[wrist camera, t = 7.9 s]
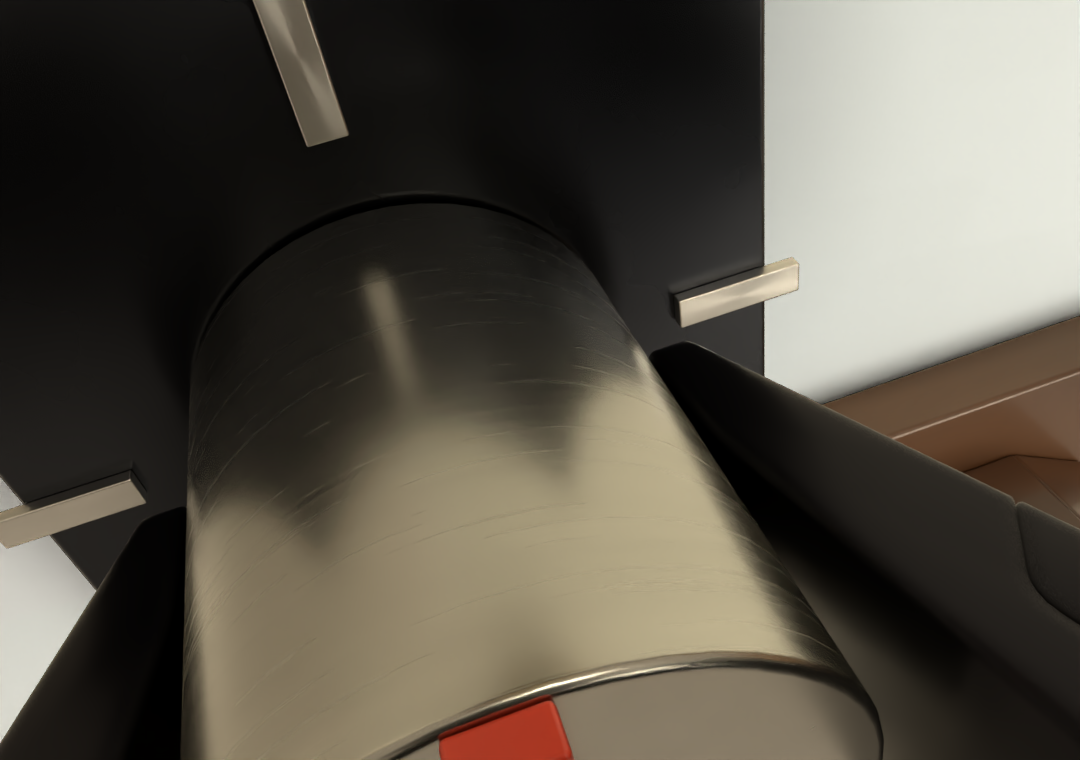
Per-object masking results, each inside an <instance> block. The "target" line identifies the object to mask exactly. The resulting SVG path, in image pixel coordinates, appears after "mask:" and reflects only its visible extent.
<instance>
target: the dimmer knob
mask: <svg viewBox="0 0 1080 760" xmlns="http://www.w3.org/2000/svg"><path fill="white" fill-rule="evenodd" d="M883 748H884V736H883V731H882V726H881V722H880V717H879V713H878V709H877V708H876V706H875V704H874V703H873V701H872V699H871V697H870V696H869V694H868V692H867V691H866V689H865V688H864V686H863V685H862V683H861V682H860V680H859V679H858V677H857V676H856V674H855V673H854V671H853V670H852V668H851V666H850V665H849V663H848V662H847V660H846V659H845V657H844V656H843V654H842V653H841V651H840V650H839V648H838V647H837V645H836V644H835V642H834V641H833V639H832V637H831V636H830V634H829V633H828V631H827V630H826V628H825V627H824V625H823V624H822V622H821V621H820V619H819V618H818V616H817V615H816V613H815V612H814V610H813V609H812V607H811V605H810V604H809V602H808V601H807V599H806V598H805V596H804V595H803V593H802V592H801V590H800V589H799V587H798V586H797V584H796V583H795V581H794V580H793V578H792V577H791V575H790V573H789V572H788V570H787V569H786V567H785V566H784V564H783V563H782V561H781V560H780V558H779V557H778V555H777V554H776V552H775V551H774V549H773V548H772V546H771V545H770V543H769V541H768V540H767V538H766V537H765V535H764V534H763V532H762V531H761V529H760V528H759V526H758V525H757V523H756V522H755V520H754V519H753V517H752V516H751V514H750V513H749V511H748V509H747V508H746V506H745V505H744V503H743V502H742V500H741V499H740V497H739V496H738V494H737V493H736V491H735V490H734V488H733V487H732V485H731V484H730V482H729V481H728V479H727V477H726V476H725V474H724V473H723V471H722V470H721V468H720V467H719V465H718V464H717V462H716V461H715V459H714V458H713V456H712V455H711V453H710V452H709V450H708V449H707V447H706V445H705V444H704V442H703V441H702V439H701V438H700V436H699V435H698V433H697V432H696V430H695V429H694V427H693V426H692V424H691V423H690V421H689V420H688V418H687V416H686V415H685V413H684V412H683V410H682V409H681V407H680V406H679V404H678V403H677V401H676V400H675V398H674V397H673V395H672V394H671V392H670V391H669V389H668V388H667V386H666V384H665V383H664V381H663V380H662V378H661V377H660V375H659V374H658V372H657V371H656V369H655V368H654V366H653V365H652V363H651V362H650V360H649V359H648V357H647V356H646V354H645V352H644V351H643V349H642V348H641V346H640V345H639V343H638V342H637V340H636V339H635V337H634V336H633V334H632V333H631V331H630V330H629V328H628V327H627V325H626V324H625V322H624V320H623V319H622V317H621V316H620V314H619V313H618V311H617V310H616V308H615V307H614V305H613V304H612V302H611V301H610V299H609V298H608V296H607V295H606V293H605V292H604V290H603V288H602V287H601V285H600V284H599V282H598V281H597V279H596V278H595V276H594V275H593V273H592V272H591V271H590V270H589V269H588V268H587V266H586V265H585V264H584V263H583V262H582V261H581V260H580V258H579V257H578V256H577V255H576V254H574V253H573V252H572V251H571V250H570V249H568V248H567V247H566V246H565V245H564V244H562V243H561V242H560V241H559V240H557V239H556V238H554V237H552V236H551V235H549V234H547V233H546V232H544V231H542V230H541V229H539V228H537V227H536V226H534V225H531V224H529V223H526V222H524V221H522V220H519V219H517V218H515V217H512V216H510V215H506V214H502V213H499V212H495V211H491V210H488V209H484V208H480V207H472V206H465V205H457V204H450V203H415V204H406V205H397V206H388V207H383V208H378V209H374V210H370V211H366V212H361V213H357V214H353V215H351V216H348V217H345V218H342V219H340V220H337V221H334V222H331V223H329V224H326V225H323V226H321V227H319V228H317V229H315V230H313V231H311V232H309V233H307V234H305V235H303V236H301V237H300V238H298V239H296V240H294V241H292V242H291V243H289V244H288V245H286V246H285V247H283V248H282V249H280V250H279V251H278V252H276V253H275V254H273V255H272V256H270V257H269V258H267V259H266V260H265V261H264V262H263V263H262V264H261V265H259V266H258V267H257V268H256V269H255V270H254V271H253V272H251V273H250V274H249V275H248V276H247V277H246V278H245V279H244V280H243V281H242V282H241V283H240V284H239V285H238V286H237V288H236V289H235V290H234V291H233V292H232V293H231V295H230V296H229V297H228V298H227V299H226V300H225V302H224V303H223V304H222V306H221V307H220V309H219V311H218V312H217V314H216V315H215V317H214V318H213V320H212V322H211V323H210V325H209V326H208V328H207V331H206V333H205V335H204V338H203V340H202V342H201V345H200V347H199V349H198V351H197V355H196V359H195V363H194V367H193V371H192V375H191V387H190V401H189V440H188V479H187V519H186V559H185V599H184V639H183V679H182V719H181V759H180V760H883Z"/></svg>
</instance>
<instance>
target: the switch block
mask: <svg viewBox="0 0 1080 760" xmlns="http://www.w3.org/2000/svg"><path fill="white" fill-rule="evenodd" d="M822 405H824V406H826V407H828V408H830V409H832V410H834V411H836V412H838V413H840V414H842V415H844V416H846V417H848V418H850V419H853V420H855V421H857V422H859V423H861V424H863V425H865V426H867V427H869V428H871V429H873V430H875V431H877V432H879V433H881V434H884V435H886V436H888V437H890V438H892V439H894V440H896V441H898V442H900V443H902V444H904V445H906V446H908V447H910V448H912V449H915V450H917V451H919V452H921V453H923V454H925V455H927V456H929V457H931V458H933V459H935V460H937V461H939V462H941V463H943V464H945V465H948V466H950V467H952V468H954V469H956V470H958V471H960V472H962V473H964V474H966V475H968V476H970V477H972V478H974V479H976V480H979V481H981V482H983V483H985V484H987V485H989V486H991V487H993V488H995V489H997V490H999V491H1001V492H1003V493H1005V494H1007V495H1010V496H1011V497H1012V498H1013V499H1014V501H1015V505H1016V504H1017V503H1018V502H1025V503H1027V504H1029V505H1031V506H1033V507H1035V508H1037V509H1039V510H1041V511H1043V512H1045V513H1047V514H1050V515H1052V516H1054V517H1056V518H1058V519H1060V520H1062V521H1064V522H1066V523H1068V524H1070V525H1073V526H1075V527H1077V528H1079V529H1080V316H1078V317H1075V318H1072V319H1069V320H1066V321H1063V322H1060V323H1057V324H1054V325H1052V326H1049V327H1046V328H1043V329H1040V330H1037V331H1034V332H1031V333H1028V334H1025V335H1023V336H1020V337H1017V338H1014V339H1011V340H1008V341H1005V342H1002V343H999V344H996V345H994V346H991V347H988V348H985V349H982V350H979V351H976V352H973V353H970V354H967V355H965V356H962V357H959V358H956V359H953V360H950V361H947V362H944V363H941V364H938V365H936V366H933V367H930V368H927V369H924V370H921V371H918V372H915V373H912V374H909V375H907V376H904V377H901V378H898V379H895V380H892V381H889V382H886V383H883V384H880V385H877V386H875V387H872V388H869V389H866V390H863V391H860V392H857V393H854V394H851V395H848V396H846V397H843V398H840V399H837V400H834V401H831V402H828V403H825V404H822Z"/></svg>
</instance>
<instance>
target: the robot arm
mask: <svg viewBox="0 0 1080 760" xmlns="http://www.w3.org/2000/svg"><path fill="white" fill-rule="evenodd" d="M649 360H650V362H651V363H652V365H653V366H654V368H655V369H656V371H657V372H658V374H659V375H660V377H661V378H662V380H663V381H664V383H665V384H666V386H667V388H668V389H669V391H670V392H671V394H672V395H673V397H674V398H675V400H676V401H677V403H678V404H679V406H680V407H681V409H682V410H683V412H684V413H685V415H686V416H687V418H688V420H689V421H690V423H691V424H692V426H693V427H694V429H695V430H696V432H697V433H698V435H699V436H700V438H701V439H702V441H703V442H704V444H705V445H706V447H707V449H708V450H709V452H710V453H711V455H712V456H713V458H714V459H715V461H716V462H717V464H718V465H719V467H720V468H721V470H722V471H723V473H724V474H725V476H726V477H727V479H728V481H729V482H730V484H731V485H732V487H733V488H734V490H735V491H736V493H737V494H738V496H739V497H740V499H741V500H742V502H743V503H744V505H745V506H746V508H747V509H748V511H749V513H750V514H751V516H752V517H753V519H754V520H755V522H756V523H757V525H758V526H759V528H760V529H761V531H762V532H763V534H764V535H765V537H766V538H767V540H768V541H769V543H770V545H771V546H772V548H773V549H774V551H775V552H776V554H777V555H778V557H779V558H780V560H781V561H782V563H783V564H784V566H785V567H786V569H787V570H788V572H789V573H790V575H791V577H792V578H793V580H794V581H795V583H796V584H797V586H798V587H799V589H800V590H801V592H802V593H803V595H804V596H805V598H806V599H807V601H808V602H809V604H810V605H811V607H812V609H813V610H814V612H815V613H816V615H817V616H818V618H819V619H820V621H821V622H822V624H823V625H824V627H825V628H826V630H827V631H828V633H829V634H830V636H831V637H832V639H833V641H834V642H835V644H836V645H837V647H838V648H839V650H840V651H841V653H842V654H843V656H844V657H845V659H846V660H847V662H848V663H849V665H850V666H851V668H852V670H853V671H854V673H855V674H856V676H857V677H858V679H859V680H860V682H861V683H862V685H863V686H864V688H865V689H866V691H867V692H868V694H869V696H870V697H871V699H872V701H873V703H874V704H875V706H876V708H877V709H878V713H879V717H880V722H881V726H882V731H883V736H884V748H883V760H1080V529H1079V528H1077V527H1075V526H1073V525H1070V524H1068V523H1066V522H1064V521H1062V520H1060V519H1058V518H1056V517H1054V516H1052V515H1050V514H1047V513H1045V512H1043V511H1041V510H1039V509H1037V508H1035V507H1033V506H1031V505H1029V504H1027V503H1025V502H1018V503H1017V504H1016V505H1015V501H1014V499H1013V498H1012V497H1011V496H1010V495H1007V494H1005V493H1003V492H1001V491H999V490H997V489H995V488H993V487H991V486H989V485H987V484H985V483H983V482H981V481H979V480H976V479H974V478H972V477H970V476H968V475H966V474H964V473H962V472H960V471H958V470H956V469H954V468H952V467H950V466H948V465H945V464H943V463H941V462H939V461H937V460H935V459H933V458H931V457H929V456H927V455H925V454H923V453H921V452H919V451H917V450H915V449H912V448H910V447H908V446H906V445H904V444H902V443H900V442H898V441H896V440H894V439H892V438H890V437H888V436H886V435H884V434H881V433H879V432H877V431H875V430H873V429H871V428H869V427H867V426H865V425H863V424H861V423H859V422H857V421H855V420H853V419H850V418H848V417H846V416H844V415H842V414H840V413H838V412H836V411H834V410H832V409H830V408H828V407H826V406H824V405H822V404H819V403H817V402H815V401H813V400H811V399H809V398H807V397H805V396H803V395H801V394H799V393H797V392H795V391H793V390H791V389H788V388H786V387H784V386H782V385H780V384H778V383H776V382H774V381H772V380H770V379H768V378H766V377H764V376H762V375H760V374H757V373H755V372H753V371H751V370H749V369H747V368H745V367H743V366H741V365H739V364H737V363H735V362H733V361H731V360H729V359H726V358H724V357H722V356H720V355H718V354H716V353H714V352H712V351H710V350H708V349H706V348H704V347H702V346H700V345H698V344H695V343H693V342H689V341H683V342H679V343H676V344H673V345H670V346H667V347H664V348H661V349H658V350H655V351H653V352H652V353H651V354H650V356H649ZM186 519H187V507H183V506H182V507H177V508H174V509H171V510H168V511H165V512H162V513H159V514H156V515H153V516H150V517H148V518H146V519H144V520H143V521H142V522H141V523H140V524H139V525H138V526H137V528H136V529H135V531H134V532H133V534H132V535H131V537H130V539H129V540H128V542H127V543H126V545H125V547H124V548H123V550H122V551H121V553H120V554H119V556H118V558H117V559H116V561H115V562H114V564H113V566H112V567H111V569H110V570H109V572H108V573H107V575H106V577H105V578H104V580H103V581H102V583H101V585H100V586H99V588H98V589H97V591H96V592H95V594H94V596H93V597H92V599H91V600H90V602H89V604H88V605H87V607H86V608H85V610H84V611H83V613H82V615H81V616H80V618H79V619H78V621H77V623H76V624H75V626H74V627H73V629H72V630H71V632H70V634H69V635H68V637H67V638H66V640H65V642H64V643H63V645H62V646H61V648H60V649H59V651H58V653H57V654H56V656H55V657H54V659H53V661H52V662H51V664H50V665H49V667H48V668H47V670H46V672H45V673H44V675H43V676H42V678H41V680H40V681H39V683H38V684H37V686H36V687H35V689H34V691H33V692H32V694H31V695H30V697H29V699H28V700H27V702H26V703H25V705H24V706H23V708H22V710H21V711H20V713H19V714H18V716H17V717H16V719H15V721H14V722H13V724H12V725H11V727H10V729H9V730H8V732H7V733H6V735H5V736H4V738H3V740H2V741H1V743H0V760H180V759H181V719H182V679H183V639H184V599H185V559H186Z"/></svg>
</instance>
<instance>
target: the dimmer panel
mask: <svg viewBox="0 0 1080 760" xmlns="http://www.w3.org/2000/svg"><path fill="white" fill-rule="evenodd" d="M415 203H450V204H457V205H465V206H472V207H480V208H484V209H488V210H491V211H495V212H499V213H502V214H506V215H510V216H512V217H515V218H517V219H519V220H522V221H524V222H526V223H529V224H531V225H534V226H536V227H537V228H539V229H541V230H542V231H544V232H546V233H547V234H549V235H551V236H552V237H554V238H556V239H557V240H559V241H560V242H561V243H562V244H564V245H565V246H566V247H567V248H568V249H570V250H571V251H572V252H573V253H574V254H576V255H577V256H578V257H579V258H580V260H581V261H582V262H583V263H584V264H585V265H586V266H587V268H588V269H589V270H590V271H591V272H592V273H593V275H594V276H595V278H596V279H597V281H598V282H599V284H600V285H601V287H602V288H603V290H604V292H605V293H606V295H607V296H608V298H609V299H610V301H611V302H612V304H613V305H614V307H615V308H616V310H617V311H618V313H619V314H620V316H621V317H622V319H623V320H624V322H625V324H626V325H627V327H628V328H629V330H630V331H631V333H632V334H633V336H634V337H635V339H636V340H637V342H638V343H639V345H640V346H641V348H642V349H643V351H644V352H645V354H646V356H647V357H648V359H649V356H650V354H651V353H652V352H653V351H655V350H658V349H661V348H664V347H667V346H670V345H673V344H676V343H679V342H683V341H689V342H693V343H695V344H698V345H700V346H702V347H704V348H706V349H708V350H710V351H712V352H714V353H716V354H718V355H720V356H722V357H724V358H726V359H729V360H731V361H733V362H735V363H737V364H739V365H741V366H743V367H745V368H747V369H749V370H751V371H753V372H755V373H757V374H760V375H762V376H764V301H766V300H769V299H772V298H775V297H778V296H781V295H784V294H787V293H790V292H793V291H796V290H798V280H799V263H798V262H797V261H796V260H795V259H794V258H793V257H790V258H787V259H784V260H781V261H778V262H775V263H772V264H768V265H765V266H764V0H0V477H1V478H2V479H3V481H4V482H5V483H6V484H7V485H8V487H9V488H10V489H11V490H12V491H13V492H14V494H15V495H16V496H17V497H18V498H19V500H20V501H21V502H22V503H23V504H24V505H21V506H18V507H15V508H11V509H8V510H5V511H2V512H0V542H1V543H2V544H3V545H4V546H5V547H6V548H11V547H14V546H17V545H20V544H23V543H26V542H29V541H32V540H35V539H39V538H42V537H45V536H48V535H50V536H51V538H52V539H53V540H54V541H55V542H56V543H57V545H58V546H59V547H60V548H61V549H62V551H63V552H64V553H65V554H66V555H67V557H68V558H69V559H70V560H71V561H72V562H73V564H74V565H75V566H76V567H77V568H78V570H79V571H80V572H81V573H82V574H83V576H84V577H85V578H86V579H87V580H88V581H89V583H90V584H91V585H92V586H93V587H94V589H95V590H96V591H97V589H98V588H99V586H100V585H101V583H102V581H103V580H104V578H105V577H106V575H107V573H108V572H109V570H110V569H111V567H112V566H113V564H114V562H115V561H116V559H117V558H118V556H119V554H120V553H121V551H122V550H123V548H124V547H125V545H126V543H127V542H128V540H129V539H130V537H131V535H132V534H133V532H134V531H135V529H136V528H137V526H138V525H139V524H140V523H141V522H142V521H143V520H144V519H146V518H148V517H150V516H153V515H156V514H159V513H162V512H165V511H168V510H171V509H174V508H177V507H182V506H183V507H187V479H188V440H189V401H190V387H191V375H192V371H193V367H194V363H195V359H196V355H197V351H198V349H199V347H200V345H201V342H202V340H203V338H204V335H205V333H206V331H207V328H208V326H209V325H210V323H211V322H212V320H213V318H214V317H215V315H216V314H217V312H218V311H219V309H220V307H221V306H222V304H223V303H224V302H225V300H226V299H227V298H228V297H229V296H230V295H231V293H232V292H233V291H234V290H235V289H236V288H237V286H238V285H239V284H240V283H241V282H242V281H243V280H244V279H245V278H246V277H247V276H248V275H249V274H250V273H251V272H253V271H254V270H255V269H256V268H257V267H258V266H259V265H261V264H262V263H263V262H264V261H265V260H266V259H267V258H269V257H270V256H272V255H273V254H275V253H276V252H278V251H279V250H280V249H282V248H283V247H285V246H286V245H288V244H289V243H291V242H292V241H294V240H296V239H298V238H300V237H301V236H303V235H305V234H307V233H309V232H311V231H313V230H315V229H317V228H319V227H321V226H323V225H326V224H329V223H331V222H334V221H337V220H340V219H342V218H345V217H348V216H351V215H353V214H357V213H361V212H366V211H370V210H374V209H378V208H383V207H388V206H397V205H406V204H415Z"/></svg>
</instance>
